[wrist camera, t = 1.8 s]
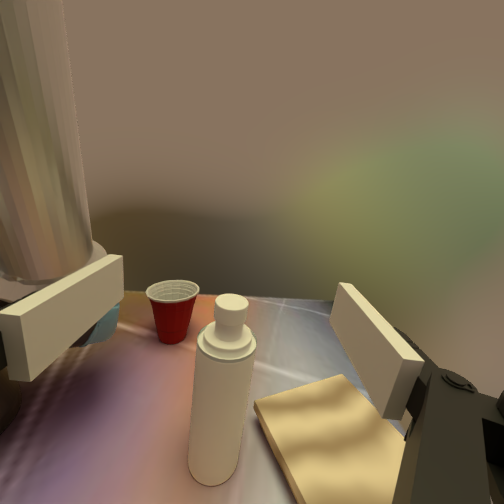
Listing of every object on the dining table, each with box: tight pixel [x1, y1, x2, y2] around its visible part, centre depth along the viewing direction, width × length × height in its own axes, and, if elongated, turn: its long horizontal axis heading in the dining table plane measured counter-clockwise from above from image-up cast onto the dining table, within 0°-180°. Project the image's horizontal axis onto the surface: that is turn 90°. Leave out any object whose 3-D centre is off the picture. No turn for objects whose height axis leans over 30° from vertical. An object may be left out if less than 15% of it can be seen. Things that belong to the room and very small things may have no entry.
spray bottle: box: [188, 294, 257, 486], centre depth 29 cm, size 7×7×25 cm
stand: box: [253, 374, 406, 504], centre depth 34 cm, size 18×18×4 cm
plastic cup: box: [146, 280, 199, 344], centre depth 53 cm, size 11×11×12 cm
